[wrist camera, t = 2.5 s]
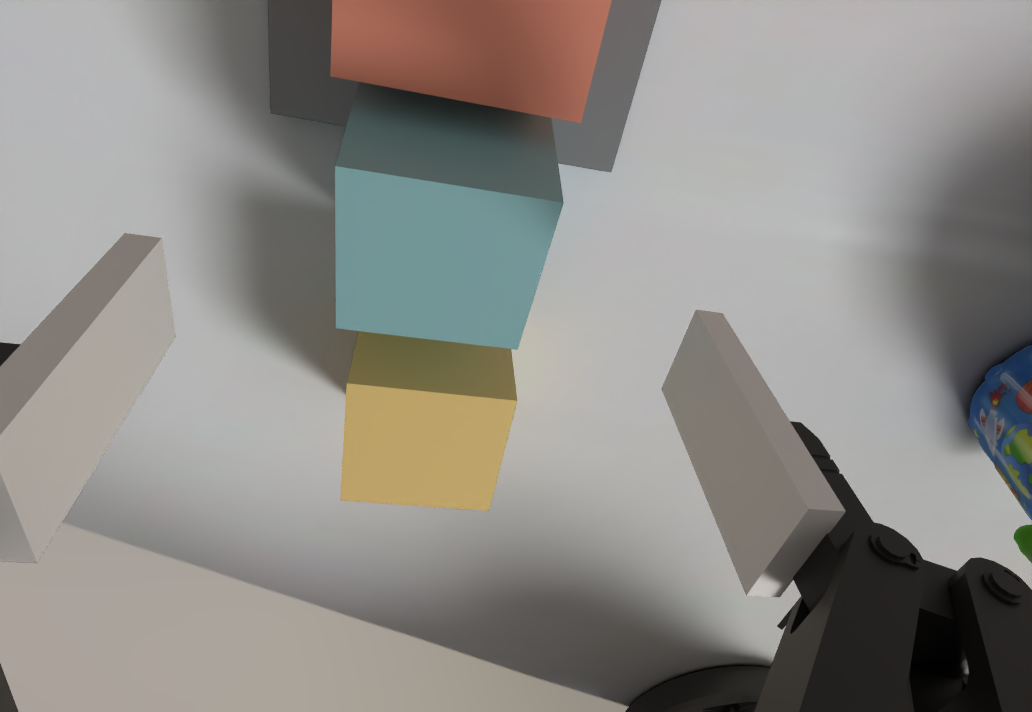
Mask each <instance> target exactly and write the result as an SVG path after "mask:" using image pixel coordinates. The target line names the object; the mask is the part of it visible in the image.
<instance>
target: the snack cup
mask: <svg viewBox="0 0 1032 712" xmlns="http://www.w3.org/2000/svg"><path fill="white" fill-rule="evenodd" d="M968 425H969V427H970V428H971V429H972V430H973V432H974V433H975V435H976V437H977V439H978V441H979V443H980V445H981V447H982V449H983V450H984V452H985V453H986V454H987V456H988V457H989V458H990V459H991V461H992V462H993V463H994V465H995V468H996V469H997V471H998V472H999V474H1000V475H1001V477H1002V478H1003V480H1004V481H1005V483H1006V484H1007V486H1008V487H1009V489H1010V490H1011V492H1012V493H1013V495H1014V496H1015V497H1016V499H1017V500H1018V502H1019V503H1020V505H1021V506H1022V508H1023V509H1024V511H1025V512H1026V514H1027V515H1028V516H1029V518H1030V519H1031V520H1032V344H1031V345H1029V346H1027V347H1025V348H1024V349H1022V350H1020V351H1018V352H1016V353H1015V354H1014V355H1012V356H1011V357H1009V358H1008V359H1006V360H1005V361H1004V362H1003V363H1002V364H998V365H995V366H993V367H992V368H991V369H990V370H989V371H988V372H987V374H986V375H985V381H984V382H983V383H982V384H981V386H980V387H979V388H978V389H977V390H976V392H975V394H974V396H973V398H972V402H971V406H970V417H969V421H968ZM1014 540H1015V541H1016V543H1017V544H1018V546H1019V549H1020V551H1021V552H1022V553H1023V554H1024V555H1025V556H1026V557H1027V558H1028V560H1029V561H1030V562H1031V563H1032V525H1025V526H1021V527H1019V528H1018V529H1017V530H1016V531H1015V533H1014Z"/></svg>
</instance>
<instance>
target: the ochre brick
mask: <svg viewBox="0 0 1032 712" xmlns="http://www.w3.org/2000/svg"><path fill="white" fill-rule="evenodd" d="M516 404H517V395H516V386H515V378H514V370H513V362H512V353H511V349H508V348H500V347H491V346H483V345H474V344H465V343H457V342H448V341H440V340H431V339H423V338H414V337H405V336H397V335H388V334H380V333H371V332H363V331H358V336H357V340H356V344H355V349H354V353H353V358H352V362H351V367H350V371H349V375H348V380H347V387H346V406H345V424H344V443H343V462H342V481H341V499H340V500H343V501H358V502H372V503H386V504H400V505H414V506H428V507H442V508H456V509H470V510H484V511H489V509H490V505H491V501H492V497H493V493H494V489H495V485H496V482H497V478H498V474H499V470H500V466H501V462H502V458H503V454H504V450H505V447H506V443H507V439H508V435H509V431H510V427H511V423H512V419H513V415H514V412H515V408H516Z"/></svg>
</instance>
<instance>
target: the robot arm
mask: <svg viewBox="0 0 1032 712" xmlns="http://www.w3.org/2000/svg"><path fill="white" fill-rule="evenodd" d="M175 337H176V335H175V328H174V321H173V314H172V307H171V300H170V293H169V286H168V279H167V272H166V265H165V258H164V251H163V244H162V238H157V237H150V236H142V235H135V234H127V233H125V234H124V235H123V236H122V237H121V238H120V239H119V240H118V241H117V242H116V243H115V244H114V245H113V246H112V247H111V249H110V250H109V251H108V252H107V253H106V254H105V255H104V256H103V257H102V258H101V259H100V260H99V261H98V262H97V264H96V265H95V266H94V267H93V268H92V269H91V270H90V271H89V272H88V273H87V274H86V275H85V276H84V277H83V279H82V280H81V281H80V282H79V283H78V284H77V285H76V286H75V287H74V288H73V289H72V290H71V291H70V292H69V293H68V295H67V296H66V297H65V298H64V299H63V300H62V301H61V302H60V303H59V304H58V305H57V306H56V307H55V308H54V310H53V311H52V312H51V313H50V314H49V315H48V316H47V317H46V318H45V319H44V320H43V321H42V322H41V323H40V325H39V326H38V327H37V328H36V329H35V330H34V331H33V332H32V333H31V334H30V335H29V336H28V337H27V338H26V340H25V341H24V342H23V343H22V344H21V345H20V344H11V343H1V342H0V562H21V563H38V561H39V560H40V558H41V556H42V555H43V553H44V551H45V550H46V548H47V546H48V545H49V543H50V542H51V540H52V538H53V537H54V535H55V533H56V532H57V530H58V528H59V527H60V525H61V524H62V522H63V520H64V519H65V517H66V515H67V514H68V512H69V510H70V509H71V507H72V505H73V504H74V502H75V501H76V499H77V497H78V496H79V494H80V492H81V491H82V489H83V487H84V486H85V484H86V483H87V481H88V479H89V478H90V476H91V474H92V473H93V471H94V469H95V468H96V466H97V465H98V463H99V461H100V460H101V458H102V456H103V455H104V453H105V451H106V450H107V448H108V447H109V445H110V443H111V442H112V440H113V438H114V437H115V435H116V433H117V432H118V430H119V428H120V427H121V425H122V424H123V422H124V420H125V419H126V417H127V415H128V414H129V412H130V410H131V409H132V407H133V406H134V404H135V402H136V401H137V399H138V397H139V396H140V394H141V392H142V391H143V389H144V388H145V386H146V384H147V383H148V381H149V379H150V378H151V376H152V374H153V373H154V371H155V370H156V368H157V366H158V365H159V363H160V361H161V360H162V358H163V356H164V355H165V353H166V351H167V350H168V348H169V347H170V345H171V343H172V342H173V340H174V338H175ZM662 391H663V394H664V396H665V399H666V401H667V403H668V406H669V408H670V411H671V413H672V416H673V418H674V421H675V423H676V425H677V428H678V430H679V433H680V435H681V438H682V440H683V442H684V445H685V447H686V450H687V452H688V455H689V457H690V460H691V462H692V464H693V467H694V469H695V472H696V474H697V477H698V479H699V481H700V484H701V486H702V489H703V491H704V494H705V496H706V499H707V501H708V503H709V506H710V508H711V511H712V513H713V516H714V518H715V520H716V523H717V525H718V528H719V530H720V533H721V535H722V538H723V540H724V542H725V545H726V547H727V550H728V552H729V555H730V557H731V559H732V562H733V564H734V567H735V569H736V572H737V574H738V577H739V579H740V581H741V584H742V586H743V589H744V591H745V594H746V596H766V597H780V596H781V595H782V594H783V592H784V591H785V590H786V588H787V587H788V586H789V584H790V583H791V582H792V581H793V579H794V582H795V584H796V586H797V588H798V590H799V592H800V594H801V597H800V598H799V600H798V601H797V602H796V603H795V605H794V606H793V607H792V608H791V610H790V611H789V612H788V613H787V615H786V616H785V617H784V618H783V620H782V621H781V622H780V623H779V625H778V626H777V627H779V628H780V629H783V628H784V627H785V626H786V628H785V630H784V633H783V636H782V638H781V641H780V644H779V646H778V649H777V652H776V654H775V657H774V660H773V663H772V665H771V668H765V667H756V666H732V667H722V668H715V669H709V670H704V671H699V672H695V673H691V674H688V675H685V676H681V677H679V678H676V679H673V680H671V681H668V682H666V683H663V684H661V685H659V686H657V687H655V688H653V689H652V690H650V691H648V692H647V693H645V694H644V695H642V696H641V697H639V698H638V699H637V700H636V701H635V702H633V703H632V704H631V705H630V706H629V708H628V709H627V710H626V712H1032V590H1031V589H1030V588H1029V586H1028V585H1027V584H1026V583H1025V582H1024V581H1023V580H1022V579H1021V578H1020V577H1019V576H1017V575H1016V574H1014V573H1013V572H1012V571H1011V570H1009V569H1008V568H1006V567H1004V566H1002V565H1000V564H998V563H996V562H994V561H991V560H988V559H984V558H971V559H970V560H968V561H967V562H966V563H965V564H964V565H963V566H962V567H961V568H960V569H959V570H958V571H956V570H953V569H950V568H947V567H944V566H941V565H938V564H935V563H932V562H929V561H926V560H923V558H922V557H921V555H920V553H919V552H918V550H917V549H916V548H915V547H914V546H913V545H912V543H911V542H910V541H909V540H908V539H907V538H905V537H904V536H902V535H901V534H899V533H898V532H897V531H895V530H894V529H891V528H889V527H887V526H884V525H882V524H878V523H874V522H873V521H872V519H871V518H870V516H869V515H868V513H867V512H866V510H865V508H864V507H863V505H862V504H861V502H860V501H859V499H858V498H857V496H856V495H855V493H854V492H853V490H852V489H851V487H850V486H849V484H848V483H847V481H846V480H845V478H844V476H843V475H842V474H839V471H840V470H839V469H838V467H837V466H836V464H835V463H834V461H833V460H830V455H829V454H828V452H827V451H826V449H825V447H824V446H823V444H822V443H821V441H820V440H819V439H818V438H817V437H816V436H815V435H814V434H813V433H812V432H811V431H810V430H809V429H807V428H806V427H805V426H804V425H803V424H802V423H800V422H790V421H789V419H788V418H787V416H786V414H785V413H784V411H783V410H782V408H781V406H780V405H779V403H778V402H777V400H776V398H775V397H774V395H773V394H772V392H771V390H770V389H769V387H768V386H767V384H766V382H765V381H764V379H763V378H762V376H761V374H760V373H759V371H758V370H757V368H756V366H755V365H754V363H753V362H752V360H751V358H750V357H749V355H748V353H747V352H746V350H745V349H744V347H743V345H742V344H741V342H740V341H739V339H738V337H737V336H736V334H735V333H734V331H733V329H732V328H731V326H730V325H729V323H728V321H727V320H726V318H725V317H724V315H723V313H716V312H709V311H701V310H696V311H695V313H694V315H693V318H692V320H691V322H690V325H689V327H688V329H687V332H686V334H685V336H684V338H683V341H682V343H681V345H680V348H679V350H678V352H677V355H676V357H675V359H674V361H673V364H672V366H671V368H670V371H669V373H668V375H667V377H666V380H665V382H664V384H663V387H662ZM0 712H18V709H17V707H16V704H15V701H14V699H13V696H12V693H11V691H10V688H9V685H8V683H7V680H6V678H5V675H4V672H3V669H2V667H1V664H0Z"/></svg>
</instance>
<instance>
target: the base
mask: <svg viewBox="0 0 1032 712" xmlns="http://www.w3.org/2000/svg"><path fill="white" fill-rule="evenodd" d="M660 3H661V0H268V30H269V69H270V109H271V113H273V114H278V115H284V116H290V117H296V118H301V119H307V120H313V121H319V122H324V123H330V124H336V125H342V126H347V122H348V119H349V115H350V112H351V108H352V105H353V102H354V98H355V95H356V91H357V88H358V84H359V82H363V83H369V84H374V85H380V86H385V87H390V88H396V89H401V90H406V91H412V92H417V93H422V94H428V95H433V96H438V97H444V98H449V99H454V100H460V101H465V102H470V103H476V104H481V105H486V106H492V107H497V108H502V109H508V110H513V111H518V112H524V113H529V114H534V115H540V116H545V117H551V118H552V125H553V132H554V139H555V146H556V153H557V161H558V163H560V164H565V165H571V166H577V167H583V168H588V169H594V170H600V171H606V172H611V171H612V168H613V165H614V161H615V158H616V154H617V151H618V147H619V144H620V141H621V137H622V134H623V130H624V127H625V123H626V120H627V117H628V113H629V110H630V106H631V103H632V99H633V96H634V93H635V89H636V86H637V82H638V79H639V75H640V72H641V69H642V65H643V62H644V58H645V55H646V51H647V48H648V45H649V41H650V38H651V34H652V31H653V27H654V24H655V21H656V17H657V14H658V10H659V7H660Z"/></svg>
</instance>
